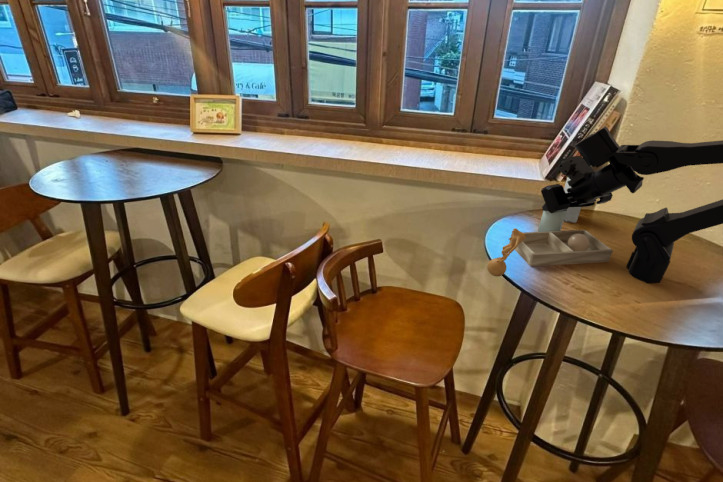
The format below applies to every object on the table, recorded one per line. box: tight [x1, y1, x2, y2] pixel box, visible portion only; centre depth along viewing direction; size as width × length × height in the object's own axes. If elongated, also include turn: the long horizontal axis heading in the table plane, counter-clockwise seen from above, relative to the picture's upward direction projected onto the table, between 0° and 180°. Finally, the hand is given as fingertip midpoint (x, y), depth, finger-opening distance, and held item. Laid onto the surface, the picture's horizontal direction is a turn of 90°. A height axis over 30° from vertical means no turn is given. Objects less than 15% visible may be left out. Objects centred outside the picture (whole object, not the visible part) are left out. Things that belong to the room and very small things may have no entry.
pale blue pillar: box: [537, 198, 570, 232], centre depth 102 cm, size 5×5×12 cm
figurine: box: [486, 228, 526, 277], centre depth 86 cm, size 8×6×12 cm
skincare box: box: [563, 176, 582, 224], centre depth 112 cm, size 6×4×12 cm
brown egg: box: [568, 234, 589, 251], centre depth 97 cm, size 5×5×5 cm
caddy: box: [508, 229, 614, 267], centre depth 96 cm, size 10×20×4 cm, turn 99°
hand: (551, 207), depth 103 cm, fingers closed on pale blue pillar, 5 cm apart
